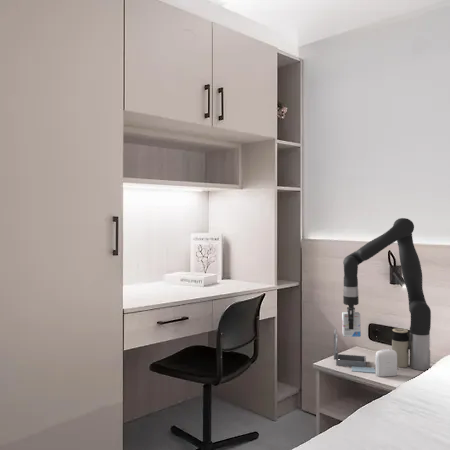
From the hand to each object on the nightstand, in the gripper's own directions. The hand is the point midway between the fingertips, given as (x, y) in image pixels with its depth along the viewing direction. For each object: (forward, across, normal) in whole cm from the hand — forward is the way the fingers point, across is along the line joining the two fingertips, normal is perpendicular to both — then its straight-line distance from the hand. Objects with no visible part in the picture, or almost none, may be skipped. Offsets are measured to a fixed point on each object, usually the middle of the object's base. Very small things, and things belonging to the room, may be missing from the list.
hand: (351, 327), depth 244 cm
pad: (+19, -9, -6) cm, 21 cm away
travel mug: (+19, +3, -24) cm, 30 cm away
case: (+18, 0, 0) cm, 18 cm away
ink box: (+4, 0, 0) cm, 4 cm away
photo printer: (+19, -14, -16) cm, 29 cm away
